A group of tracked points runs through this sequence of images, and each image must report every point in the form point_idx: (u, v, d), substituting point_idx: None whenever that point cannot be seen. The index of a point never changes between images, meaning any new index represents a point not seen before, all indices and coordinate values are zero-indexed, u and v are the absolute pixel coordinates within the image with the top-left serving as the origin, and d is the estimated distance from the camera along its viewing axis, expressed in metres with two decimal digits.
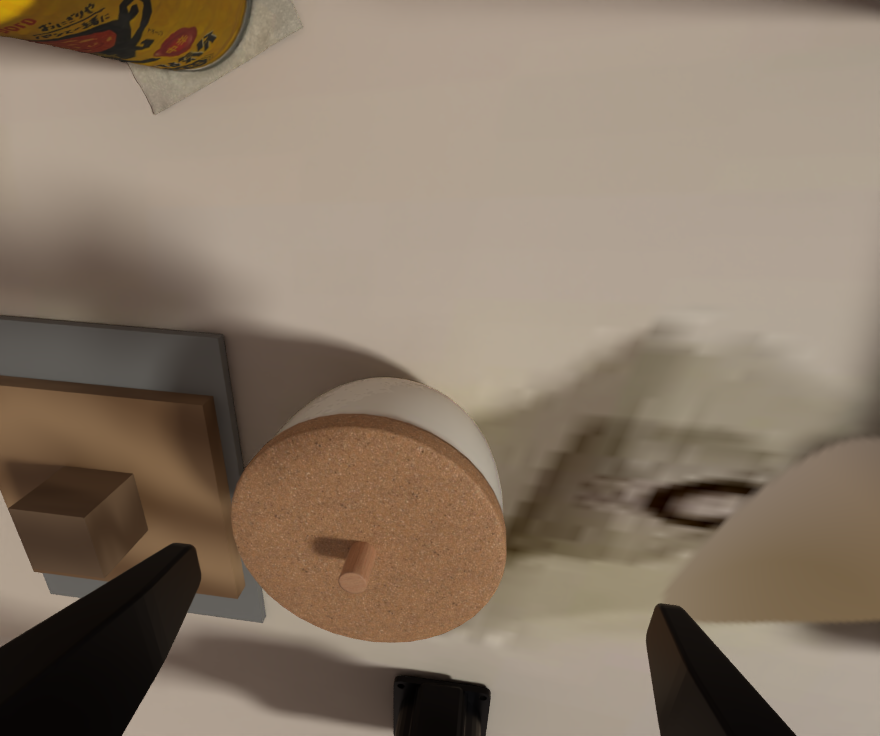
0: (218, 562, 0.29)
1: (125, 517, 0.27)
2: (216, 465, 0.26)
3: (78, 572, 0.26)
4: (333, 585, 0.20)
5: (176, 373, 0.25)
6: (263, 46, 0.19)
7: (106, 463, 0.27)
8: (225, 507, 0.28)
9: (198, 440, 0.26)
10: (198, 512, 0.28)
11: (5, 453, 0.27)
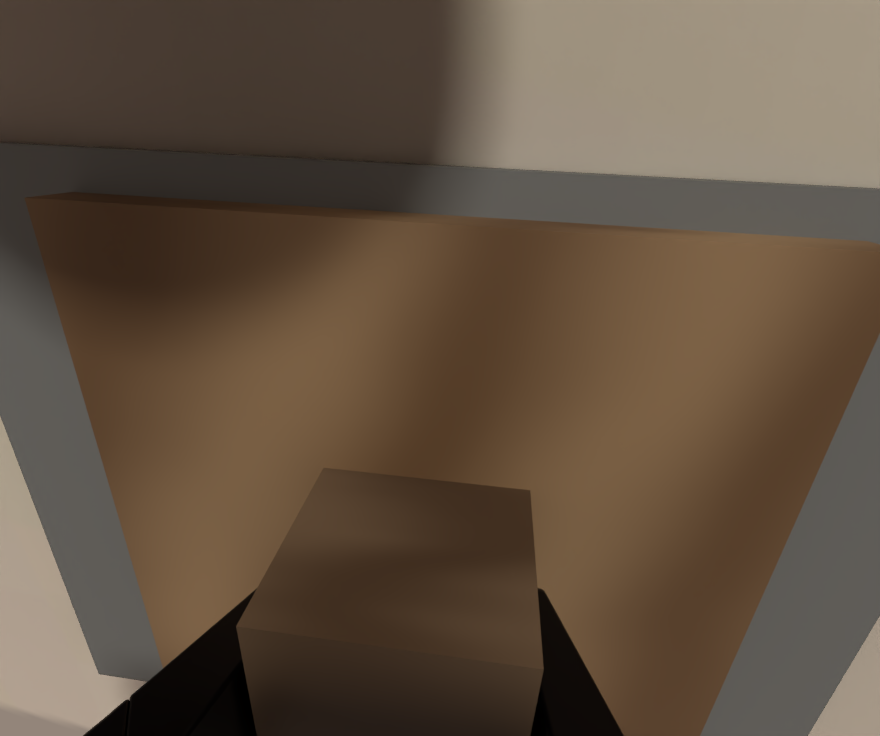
0: (683, 292, 0.07)
1: (411, 524, 0.08)
2: (251, 209, 0.08)
3: (519, 733, 0.07)
4: None
5: (44, 283, 0.10)
6: None
7: None
8: (439, 220, 0.08)
9: (155, 241, 0.08)
10: (444, 314, 0.08)
11: None
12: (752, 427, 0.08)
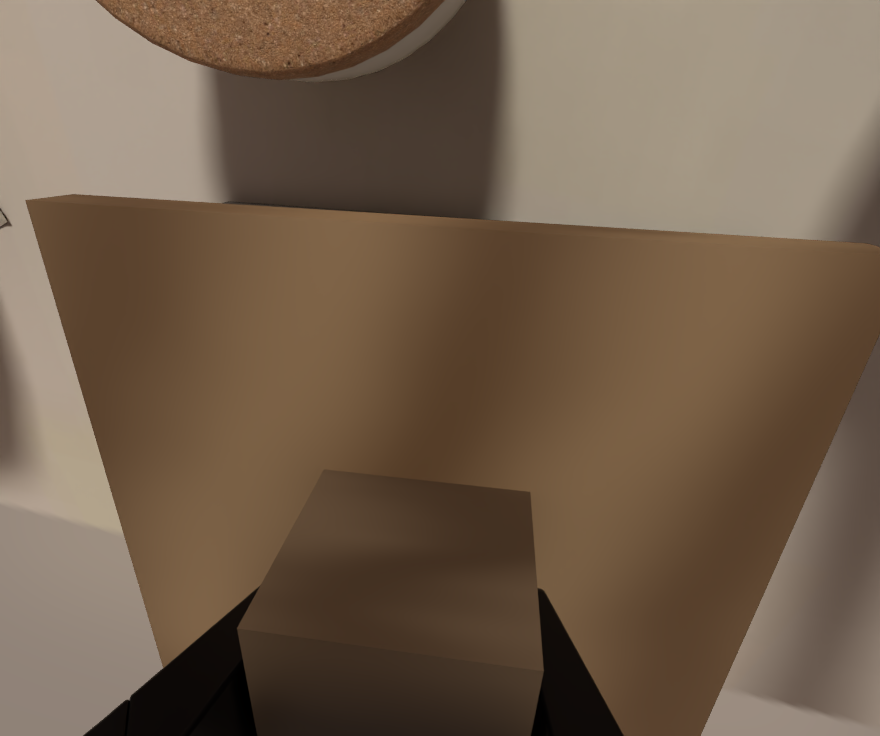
0: (683, 294, 0.08)
1: (411, 526, 0.08)
2: (252, 212, 0.08)
3: None
4: None
5: None
6: None
7: None
8: (439, 222, 0.08)
9: (156, 244, 0.08)
10: (446, 316, 0.08)
11: None
12: (752, 429, 0.08)
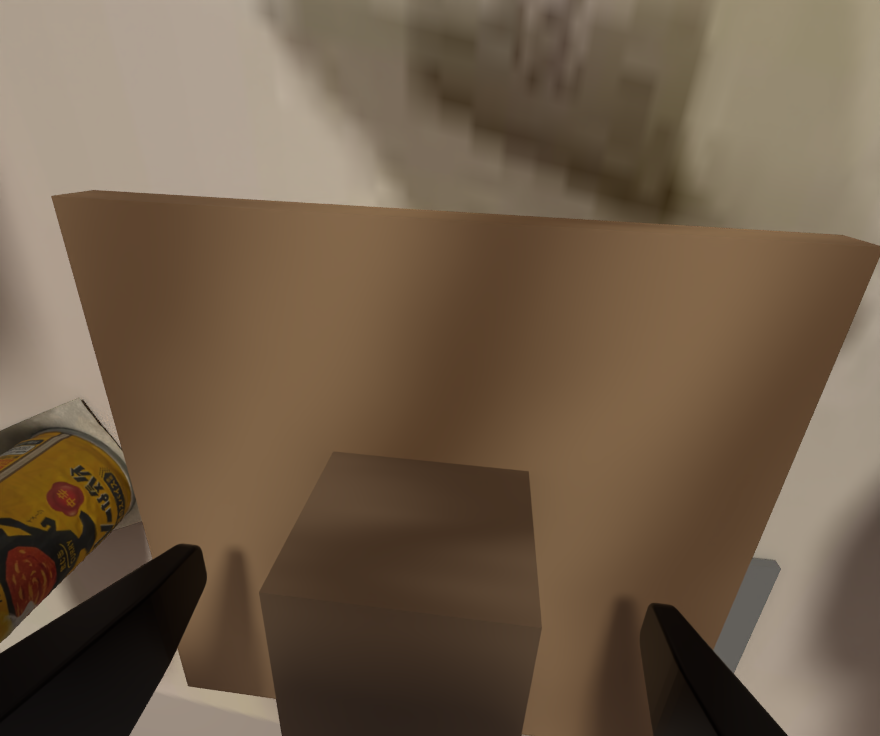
0: (671, 283, 0.08)
1: (417, 502, 0.09)
2: (266, 206, 0.08)
3: (520, 690, 0.07)
4: None
5: None
6: (100, 428, 0.24)
7: None
8: (442, 216, 0.08)
9: (175, 238, 0.09)
10: (449, 305, 0.09)
11: None
12: (736, 410, 0.09)
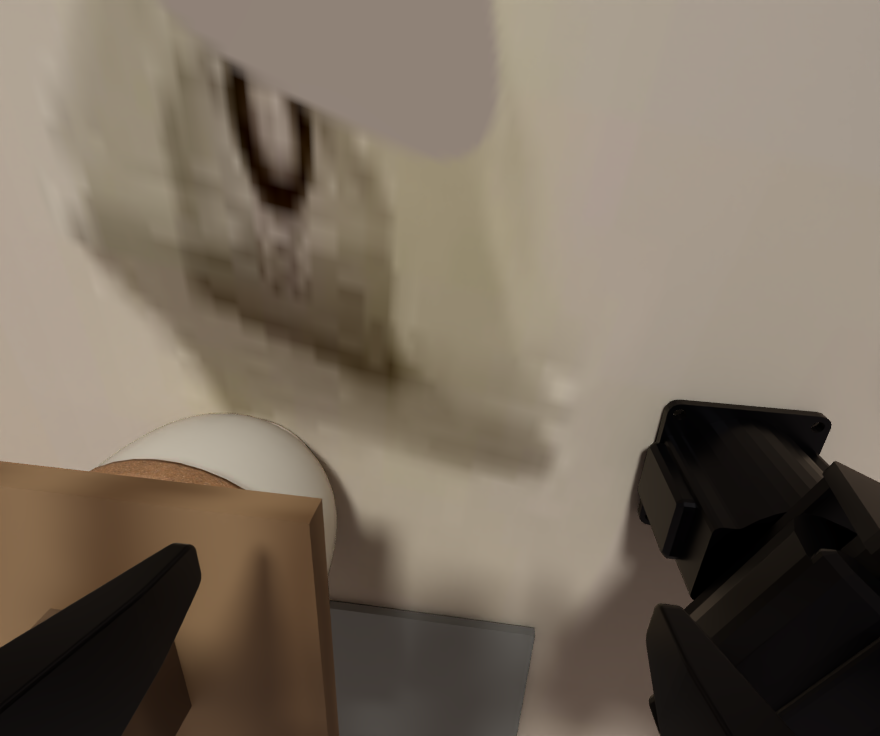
0: (206, 533, 0.13)
1: None
2: None
3: None
4: None
5: None
6: None
7: None
8: (79, 485, 0.14)
9: None
10: (89, 535, 0.14)
11: None
12: (272, 598, 0.14)
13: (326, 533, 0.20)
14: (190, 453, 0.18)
